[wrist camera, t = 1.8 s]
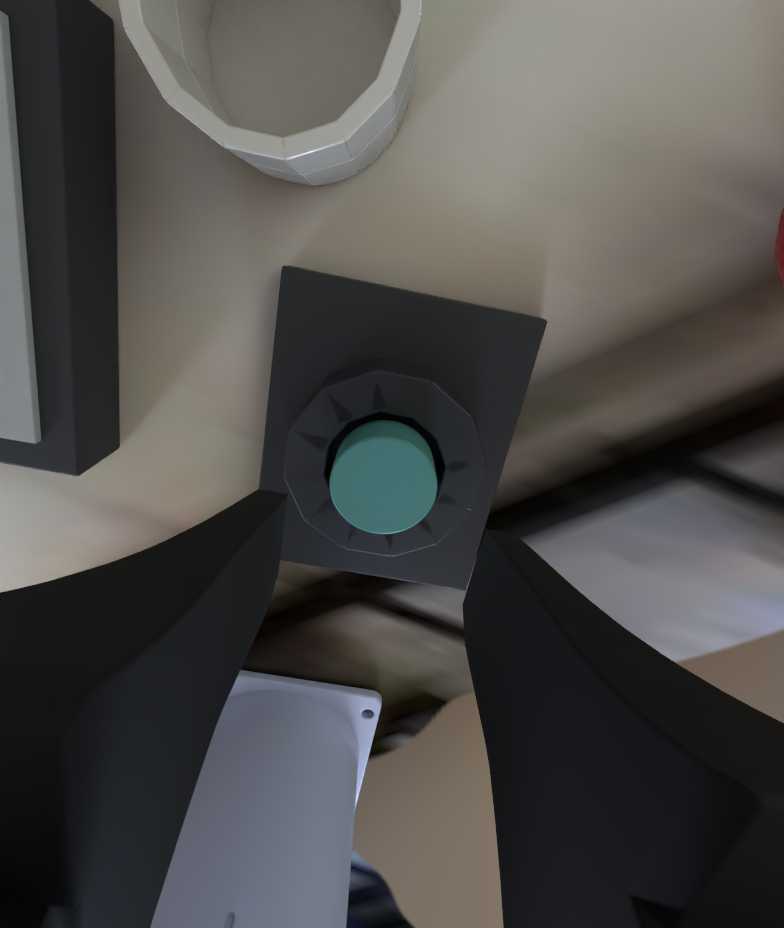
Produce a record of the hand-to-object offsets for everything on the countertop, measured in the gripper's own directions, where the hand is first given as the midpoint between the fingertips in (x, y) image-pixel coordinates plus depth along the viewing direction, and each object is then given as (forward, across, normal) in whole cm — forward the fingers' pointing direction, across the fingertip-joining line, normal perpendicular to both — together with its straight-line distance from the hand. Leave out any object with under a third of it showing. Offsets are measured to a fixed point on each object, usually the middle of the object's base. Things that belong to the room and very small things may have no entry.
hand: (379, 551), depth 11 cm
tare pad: (+7, 0, 0) cm, 7 cm away
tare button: (+5, 0, 0) cm, 5 cm away
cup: (+7, +4, -10) cm, 13 cm away
